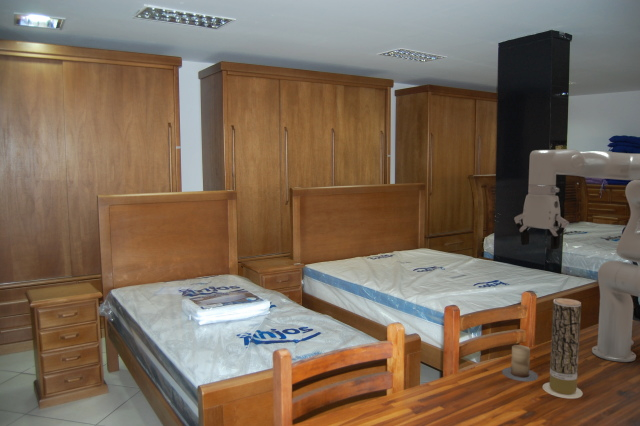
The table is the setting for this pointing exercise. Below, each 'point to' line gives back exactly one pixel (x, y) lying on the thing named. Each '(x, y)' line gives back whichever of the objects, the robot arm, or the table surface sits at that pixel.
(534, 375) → the board
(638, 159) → the robot arm
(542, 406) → the table surface
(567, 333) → the brown bark cylinder
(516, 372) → the beige rounded cylinder
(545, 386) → the cream pad
